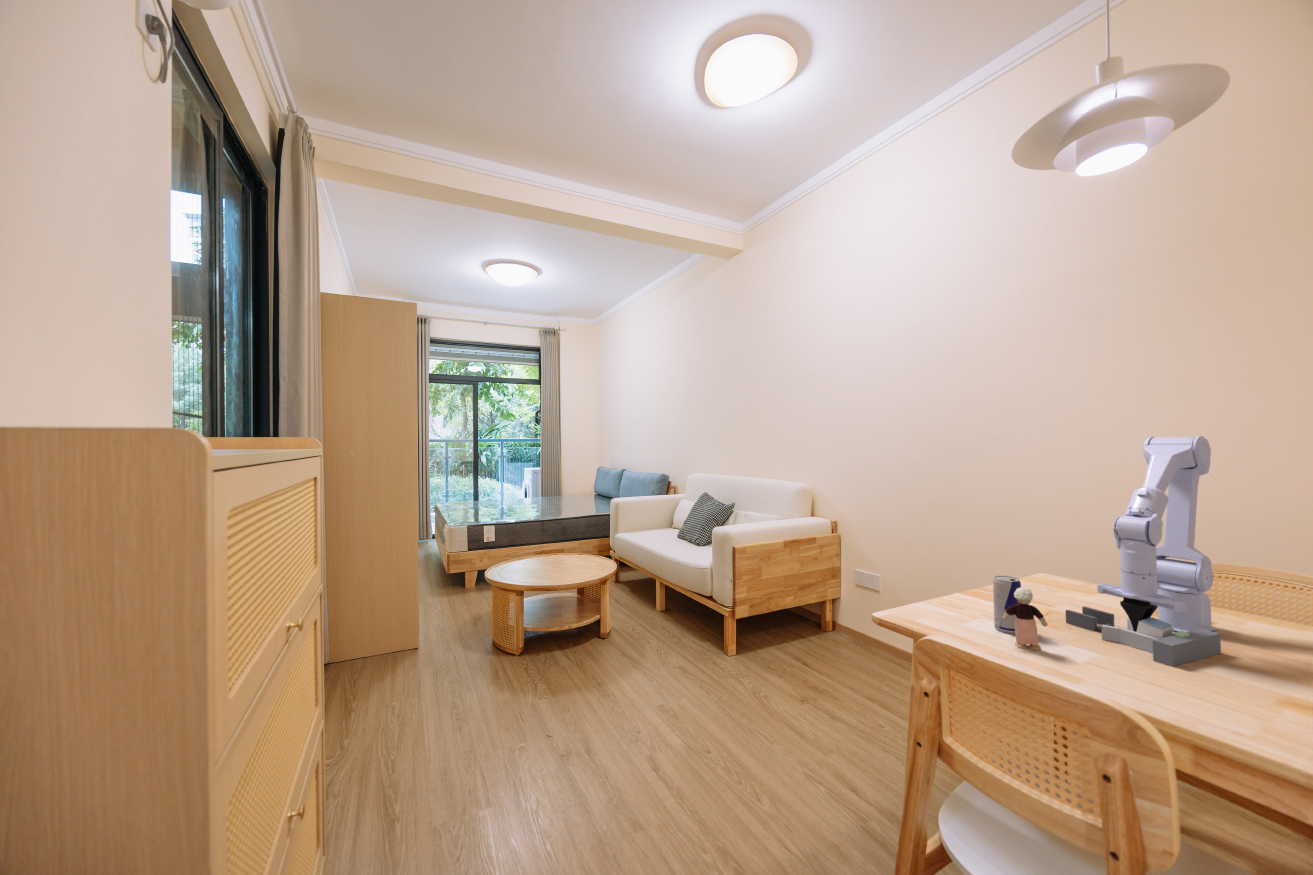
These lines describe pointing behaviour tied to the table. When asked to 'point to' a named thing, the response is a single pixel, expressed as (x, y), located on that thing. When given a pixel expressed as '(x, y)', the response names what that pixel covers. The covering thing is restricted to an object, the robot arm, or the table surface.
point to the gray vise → (1090, 618)
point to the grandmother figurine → (1025, 619)
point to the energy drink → (1004, 602)
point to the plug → (1155, 628)
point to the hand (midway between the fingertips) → (1139, 635)
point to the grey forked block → (1168, 643)
